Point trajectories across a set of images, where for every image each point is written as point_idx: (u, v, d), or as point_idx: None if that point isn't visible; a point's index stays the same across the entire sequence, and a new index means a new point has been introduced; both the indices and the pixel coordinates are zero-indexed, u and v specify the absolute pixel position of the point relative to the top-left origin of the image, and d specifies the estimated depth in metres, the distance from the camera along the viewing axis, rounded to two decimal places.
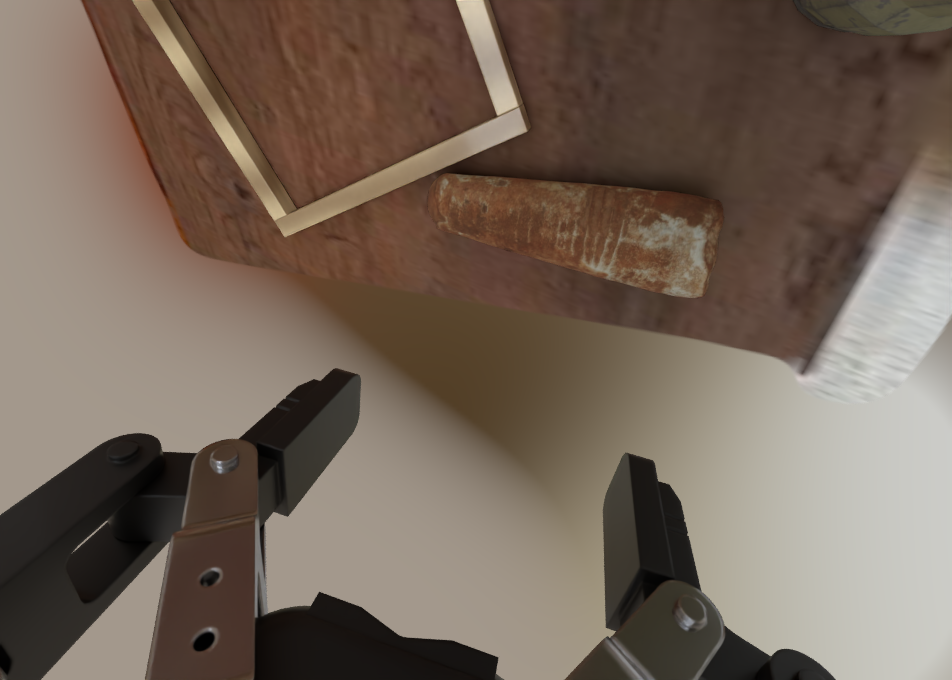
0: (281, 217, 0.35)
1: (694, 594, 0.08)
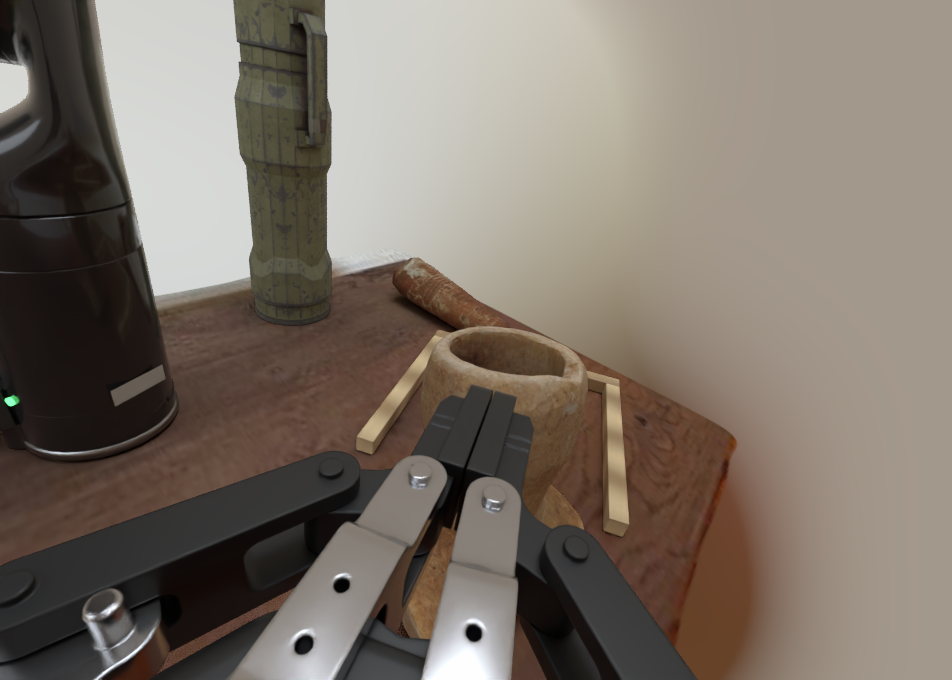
0: (611, 384, 0.48)
1: (504, 486, 0.10)
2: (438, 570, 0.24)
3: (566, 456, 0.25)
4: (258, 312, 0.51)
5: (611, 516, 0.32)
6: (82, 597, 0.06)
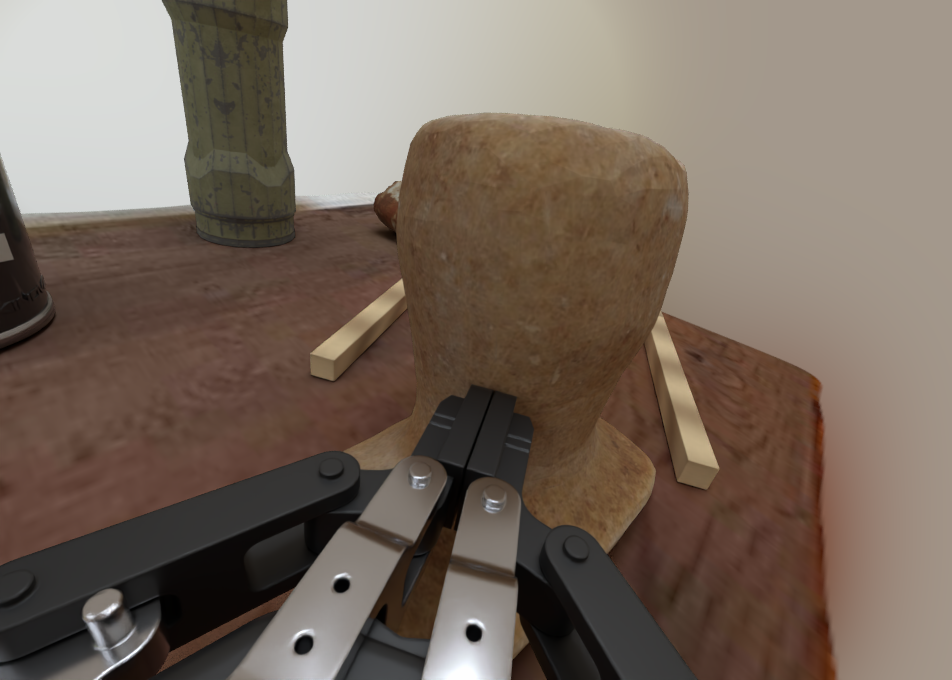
0: None
1: (504, 486, 0.10)
2: None
3: (653, 319, 0.14)
4: (199, 231, 0.40)
5: (690, 457, 0.21)
6: (82, 597, 0.06)
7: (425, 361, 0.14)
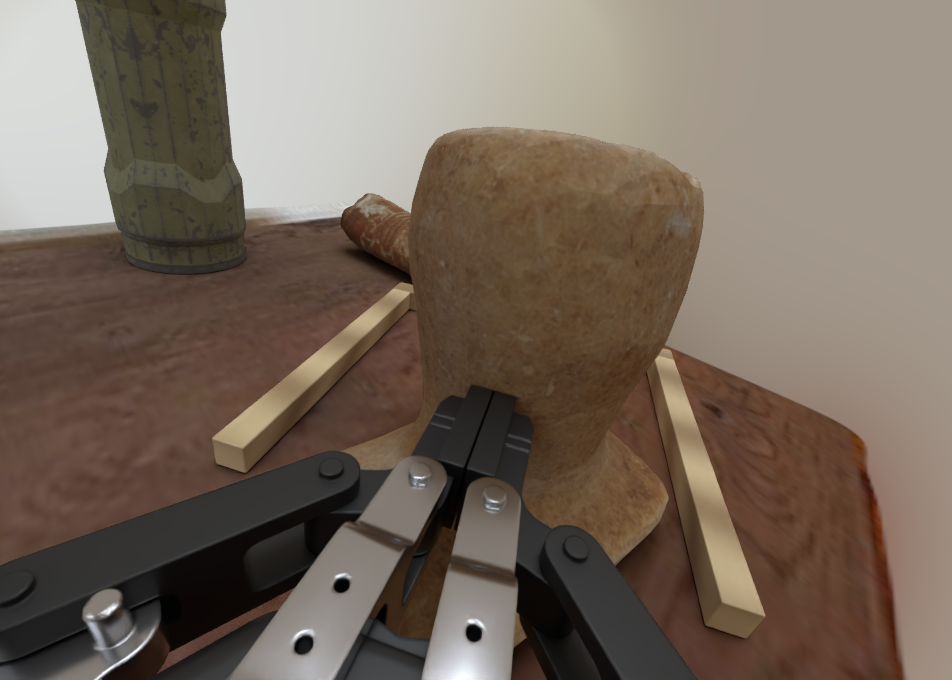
0: (661, 356, 0.32)
1: (504, 486, 0.10)
2: None
3: (659, 338, 0.14)
4: (127, 255, 0.34)
5: (724, 597, 0.15)
6: (82, 597, 0.06)
7: (428, 365, 0.15)
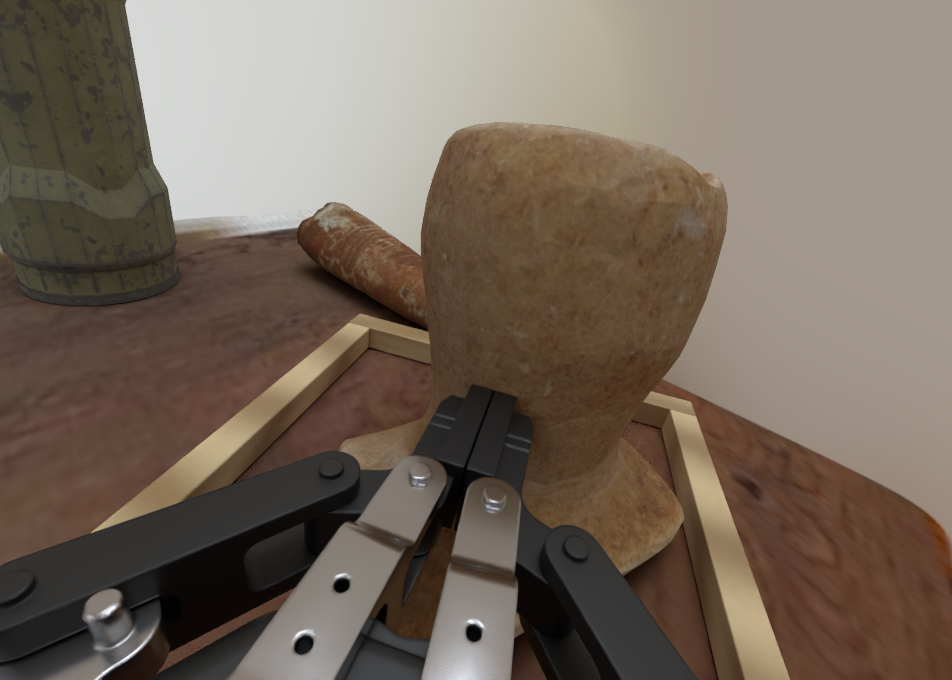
0: (680, 412, 0.25)
1: (504, 486, 0.10)
2: None
3: (670, 344, 0.13)
4: (19, 282, 0.27)
5: None
6: (82, 597, 0.06)
7: (433, 359, 0.15)
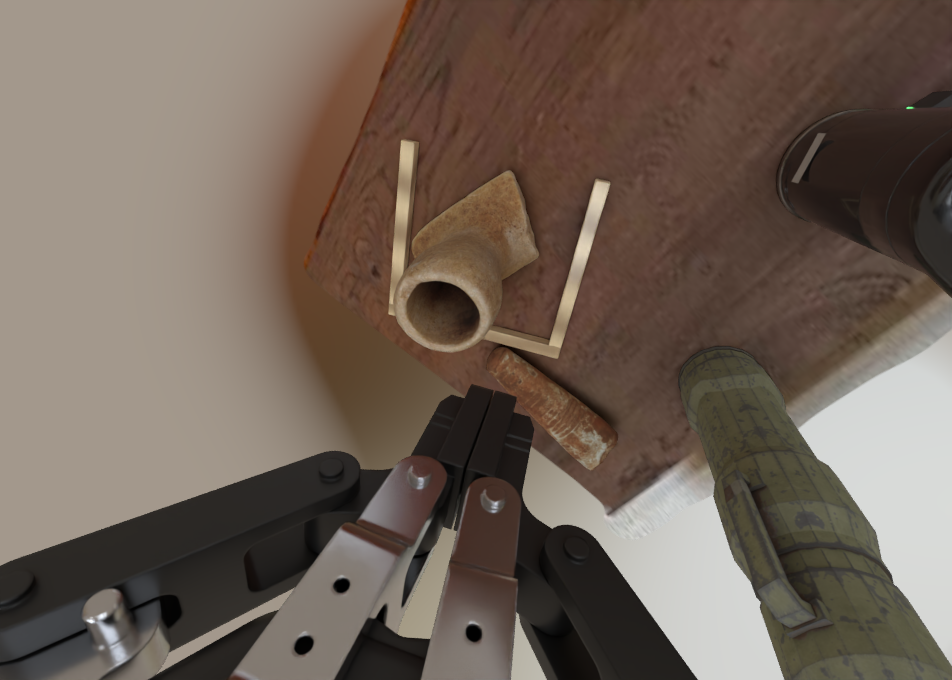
0: None
1: (504, 486, 0.10)
2: (503, 218, 0.44)
3: (420, 254, 0.41)
4: None
5: (412, 144, 0.45)
6: (82, 597, 0.06)
7: (497, 261, 0.42)
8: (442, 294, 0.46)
